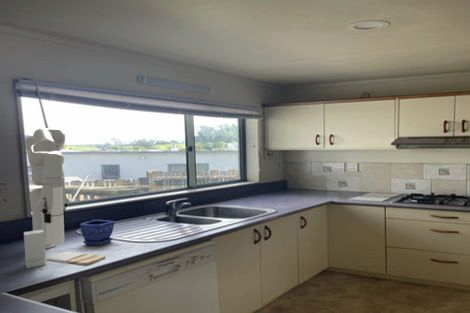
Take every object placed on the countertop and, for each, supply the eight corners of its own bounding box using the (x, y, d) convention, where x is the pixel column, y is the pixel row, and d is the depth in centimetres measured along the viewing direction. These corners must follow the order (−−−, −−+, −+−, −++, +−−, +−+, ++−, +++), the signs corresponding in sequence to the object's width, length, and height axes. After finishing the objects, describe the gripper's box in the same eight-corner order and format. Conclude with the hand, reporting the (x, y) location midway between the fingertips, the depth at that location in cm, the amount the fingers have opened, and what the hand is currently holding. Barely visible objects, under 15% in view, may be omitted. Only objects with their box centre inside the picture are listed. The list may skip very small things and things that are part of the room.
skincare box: (45, 261, 193) (43, 229, 192) (45, 265, 187) (44, 231, 186) (25, 264, 189) (23, 231, 188) (25, 268, 183) (23, 234, 182)
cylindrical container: (48, 245, 176) (46, 188, 175) (45, 241, 182) (43, 186, 180) (66, 242, 181) (64, 186, 179) (62, 239, 186) (60, 184, 185)
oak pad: (67, 262, 191) (67, 260, 191) (85, 255, 202) (85, 253, 202) (87, 265, 186) (87, 263, 186) (105, 258, 197) (105, 256, 197)
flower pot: (96, 239, 234) (95, 219, 233) (115, 241, 229) (114, 220, 229) (79, 245, 221) (79, 223, 221) (100, 247, 217) (99, 225, 216)
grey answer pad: (46, 260, 196) (46, 258, 196) (65, 253, 207) (65, 251, 207) (65, 262, 191) (65, 260, 191) (84, 255, 202) (84, 253, 202)
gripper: (62, 178, 189) (63, 216, 190) (30, 183, 173) (32, 224, 174) (74, 179, 186) (76, 217, 187) (43, 183, 170) (45, 225, 171)
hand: (54, 220), depth 181 cm, fingers closed on cylindrical container, 7 cm apart
